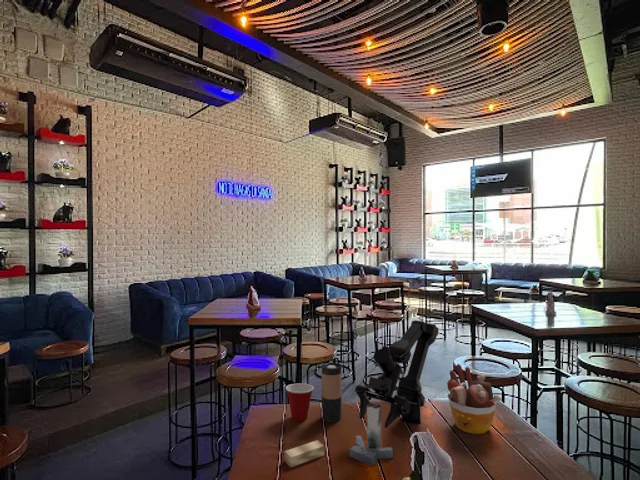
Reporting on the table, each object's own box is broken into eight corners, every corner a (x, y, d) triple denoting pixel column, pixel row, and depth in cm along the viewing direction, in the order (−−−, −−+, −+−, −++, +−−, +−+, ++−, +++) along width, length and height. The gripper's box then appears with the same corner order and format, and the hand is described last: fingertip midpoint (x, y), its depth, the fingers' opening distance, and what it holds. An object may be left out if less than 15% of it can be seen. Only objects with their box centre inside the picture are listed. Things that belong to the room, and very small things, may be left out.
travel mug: (340, 423, 138) (339, 369, 138) (319, 421, 140) (319, 368, 140) (342, 414, 146) (342, 363, 146) (323, 412, 147) (323, 361, 147)
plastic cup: (317, 413, 146) (317, 383, 146) (308, 426, 136) (307, 393, 136) (292, 409, 150) (292, 379, 150) (281, 422, 140) (280, 390, 140)
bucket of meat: (509, 439, 127) (508, 380, 127) (462, 442, 125) (462, 382, 125) (478, 412, 147) (477, 362, 147) (437, 415, 145) (437, 363, 145)
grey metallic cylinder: (379, 445, 123) (378, 403, 123) (383, 453, 119) (382, 409, 119) (365, 446, 122) (365, 404, 123) (369, 454, 118) (368, 410, 118)
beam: (317, 449, 121) (317, 440, 121) (324, 455, 118) (324, 445, 118) (284, 461, 115) (284, 451, 115) (290, 467, 111) (290, 457, 111)
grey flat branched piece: (358, 441, 125) (358, 434, 125) (394, 456, 117) (394, 448, 117) (342, 453, 119) (342, 445, 119) (379, 469, 110) (379, 461, 110)
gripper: (357, 361, 130) (338, 403, 121) (406, 372, 118) (389, 420, 110) (369, 377, 136) (352, 418, 128) (417, 389, 124) (402, 436, 116)
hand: (372, 423), depth 120 cm, fingers open, 9 cm apart
